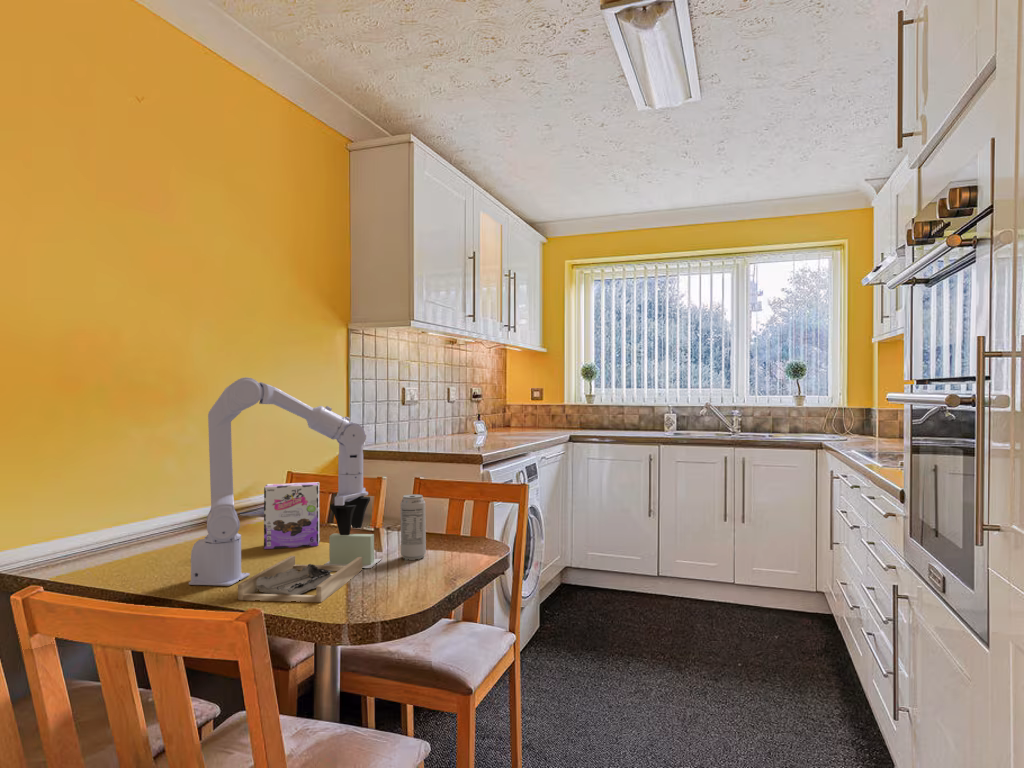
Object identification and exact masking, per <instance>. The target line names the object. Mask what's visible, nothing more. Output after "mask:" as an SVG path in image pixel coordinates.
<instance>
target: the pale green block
mask: <svg viewBox="0 0 1024 768" xmlns="http://www.w3.org/2000/svg"><path fill="white" fill-rule="evenodd" d="M357 557H362V564H368V565H371V564H372V563H373V562H374V559H375V534H374V533H350V534H349V535H340V533H332V534H330V535H329V561H330V564H349V563H350V562H352V561H353V560H355V559H356V558H357Z"/></svg>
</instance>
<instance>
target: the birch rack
mask: <svg viewBox="0 0 1024 768" xmlns="http://www.w3.org/2000/svg"><path fill="white" fill-rule="evenodd" d="M314 565H315V566H316V567H318V569H325V570H333V571H332V572H335V573H330V575H331V576H330V577H329V578H328V579H326V580H325V581H323V582H322V583H321V584H319V585H318V586H316V588H315V590H316V593H315V594H316V595H315V594H311V595H310V594H299V595H288V594H270V593H257V592H259V591H258V590H259V589H258V587H257V584H256V583H257V579H258V578H259V577H271V576H273V577H274V576H275V575H276V574H277V573H280V572H281V573H282V572H283V573H284V572H286V571H288V570H290V569H293V568H294V569H298V570H297V571H301V570H303V567H304V568H306V567H307V566H308V564H296V555H289V556H288V557H286V558H284V559H282V560H281V561H278V562H276V563H275V564H273V565H271V566H269V567H268V568H266V569H264V570H263V571H261V572H258V573H256V574H254V575H253V576H251V577H249V578H247V579H246V580H244V581H242V582H240V583H239V584H237V600H238V601H255V600H260V601H261V602H262V601H263V602H291V601H296V602H299V603H323V602H324V601H325V600H327V599H328V598H329V597H330V596H331V595H333V594H334V593H335V592H337V591H338V590H339V589H340V588H342V587H343V586H345V585H346V584H347V583H348V582H349V581H351V580H352V579H354V576H355V575H356V576H357V575H358V574H360V573H361V572H362V571H363V569H362V557H357V558H356V559H355V560H353V561H352V562H350V563H349V564H347V565H346V566H341V565H324V564H314ZM361 570H362V571H361ZM360 571H361V572H360ZM359 572H360V573H359ZM307 576H309V574H308V575H307ZM356 576H355V577H356ZM350 579H351V580H350ZM255 592H256V593H255ZM260 601H259V602H260ZM300 601H301V602H300ZM322 601H323V602H322Z"/></svg>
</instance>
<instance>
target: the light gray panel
mask: <svg viewBox="0 0 1024 768" xmlns="http://www.w3.org/2000/svg"><path fill="white" fill-rule="evenodd" d="M381 559H382V558H374V562H373V563H372V564H371V565H368V564H362V568H371V569H373V568H374V567H375V566H376V565H377V564H376V563H378V562H379V561H380V560H381ZM381 561H382V560H381ZM381 561H380V562H381ZM380 562H379V563H380ZM379 563H378V564H379ZM375 564H376V565H375ZM323 565H341V566H346V565H347V564H330V560H329V561H327V562H325V563H324V564H323ZM374 565H375V566H374ZM373 566H374V567H373ZM372 567H373V568H372Z"/></svg>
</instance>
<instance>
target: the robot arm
mask: <svg viewBox="0 0 1024 768" xmlns="http://www.w3.org/2000/svg"><path fill="white" fill-rule="evenodd" d="M219 395H220V396H219V397H218V398H217V399H216V401H215V403H214V404H213V405H212V407H211V408H210V410H209V411H208V414H207V422H208V425H207V426H208V450H209V451H208V452H209V455H208V456H209V477H210V478H209V480H210V510H209V512H208V514H207V516H206V531H207V535H205V536H204V538H202V539H198V540H197V541H195V543H194V544H193V545H192V548H191V552H190V553H191V554H190V581H188V585H191V586H223V587H224V586H226V587H228V586H231V585H234V584H235V583H237V582H239V580H240V581H241V580H244V579H245V578H247V577H249V576H250V572H242V534H240V533H239V530H240V527H241V523H240V519H239V517H238V513H237V511H236V509H235V499H234V475H233V474H234V473H233V472H234V470H233V445H232V441H233V440H232V421H234V420H235V419H236V418H237V417H238V416H239V415H240V414H241V413H242V412H243V411H245V410H247V409H249V408H251V407H253V406H255V405H256V404H258V403H259V405H274V406H276V407H278V408H281V409H283V410H285V411H287V412H289V413H291V414H293V415H296V416H297V417H300V418H302V419H304V420H305V421H306V422H307V423H306V424H307V427H308V428H309V429H311V430H312V431H314V432H317V433H319V434H321V435H323V436H325V437H326V438H328V439H331V440H333V441H334V440H336V442H337V443H338V459H337V460H338V468H337V469H338V472H337V473H338V475H337V476H338V477H337V478H338V479H337V480H338V483H337V484H338V487H337V488H338V491H337V493H336V496H334V503H331V504H330V507H329V508H330V511H331V513H332V514H333V516H334V519H335V521H336V525H337V530H338V532H339V533H338V534H340V535H349V534H351V530H352V529H361V528H362V527H363V522H364V518H365V515H366V510H367V508H368V505H369V503H370V501H371V497H369V496H368V495H369V491H366V489H367V488H366V487H364V447H363V446H364V445H363V444H364V443H365V442H366V440H367V434H366V430H365V429H364V428H363V426H362V425H361V424H358V423H356V422H352V421H351V420H350V419H351V418H350V417H348V416H344V417H343V416H342V415H340V414H338V413H336V412H334V411H332V409H333V408H332V407H331V406H328V405H326V406H323V405H319V406H316V407H313V406H310V405H309V404H307V403H306V402H305V403H304V402H303V401H302V400H299V399H298V398H296V397H294V396H292V395H291V394H288V393H286V392H285V391H284V390H281V389H279V388H277V387H275V386H274V385H273V386H272V385H271V384H267V383H265V382H261V381H260V382H259V381H258V380H256V379H254V378H252V377H241V378H238V379H237V380H235V381H234V382H232V383H231V384H229V385H228V386H226V387H225V388H224V390H223V391H222V392H221V394H219ZM351 528H352V529H351Z"/></svg>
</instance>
